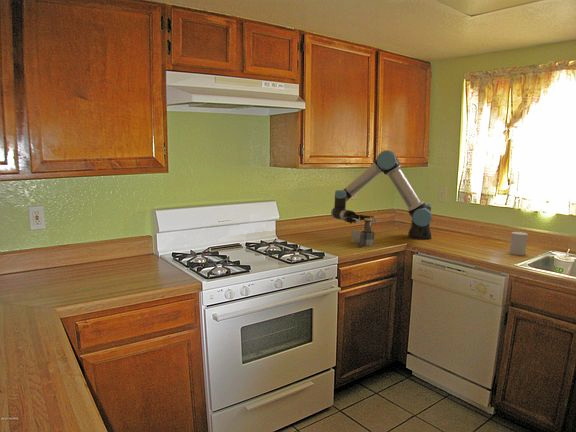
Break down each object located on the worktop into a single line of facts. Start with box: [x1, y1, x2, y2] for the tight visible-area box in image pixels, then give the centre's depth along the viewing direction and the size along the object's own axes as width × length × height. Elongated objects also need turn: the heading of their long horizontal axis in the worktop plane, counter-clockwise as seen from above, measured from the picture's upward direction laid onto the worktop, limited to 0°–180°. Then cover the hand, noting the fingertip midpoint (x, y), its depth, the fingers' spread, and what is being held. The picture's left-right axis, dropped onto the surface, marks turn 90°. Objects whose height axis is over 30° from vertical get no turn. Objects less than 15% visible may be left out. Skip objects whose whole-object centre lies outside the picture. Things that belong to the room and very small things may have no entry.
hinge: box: [351, 229, 375, 249], centre depth 257 cm, size 14×14×8 cm
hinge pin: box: [363, 218, 372, 233], centre depth 257 cm, size 5×5×16 cm
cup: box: [508, 231, 529, 256], centre depth 244 cm, size 8×8×12 cm
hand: (368, 221), depth 255 cm, fingers open, 13 cm apart
